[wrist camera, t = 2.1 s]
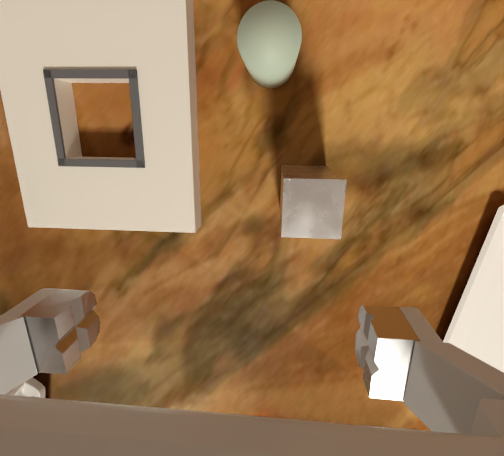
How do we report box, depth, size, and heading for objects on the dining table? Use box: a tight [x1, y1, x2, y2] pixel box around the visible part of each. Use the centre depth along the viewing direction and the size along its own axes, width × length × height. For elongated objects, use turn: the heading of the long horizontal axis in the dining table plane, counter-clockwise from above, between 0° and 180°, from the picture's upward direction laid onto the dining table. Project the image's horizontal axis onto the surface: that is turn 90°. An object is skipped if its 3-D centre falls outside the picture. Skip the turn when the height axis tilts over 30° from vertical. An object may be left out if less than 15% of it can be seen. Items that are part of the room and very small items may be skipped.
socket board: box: [0, 0, 201, 233], centre depth 34 cm, size 24×20×3 cm
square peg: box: [280, 165, 347, 239], centre depth 31 cm, size 5×5×11 cm
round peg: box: [237, 0, 302, 88], centre depth 29 cm, size 5×5×9 cm
